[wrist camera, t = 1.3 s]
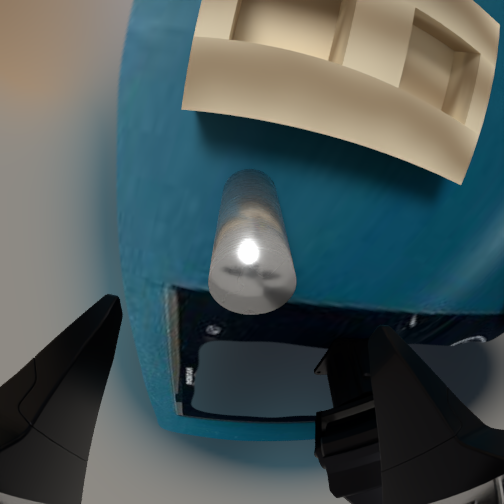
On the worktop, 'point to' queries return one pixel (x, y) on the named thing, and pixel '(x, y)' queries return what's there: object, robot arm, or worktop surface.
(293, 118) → the socket block
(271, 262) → the pin
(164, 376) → the worktop surface
